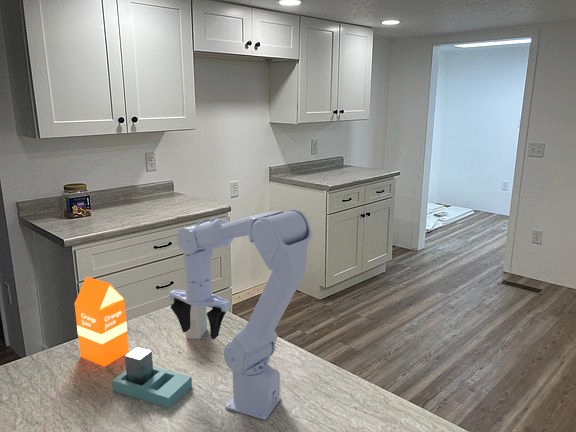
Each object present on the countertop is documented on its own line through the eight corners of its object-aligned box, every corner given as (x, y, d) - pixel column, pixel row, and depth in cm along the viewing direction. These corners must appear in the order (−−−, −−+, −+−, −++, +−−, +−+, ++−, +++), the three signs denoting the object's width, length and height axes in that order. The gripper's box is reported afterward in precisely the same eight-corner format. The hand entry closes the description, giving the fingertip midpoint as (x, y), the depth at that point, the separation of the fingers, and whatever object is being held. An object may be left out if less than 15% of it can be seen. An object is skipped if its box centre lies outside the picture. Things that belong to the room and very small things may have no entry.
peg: (153, 382, 106) (151, 350, 104) (142, 392, 103) (139, 359, 101) (139, 378, 108) (137, 346, 106) (127, 387, 104) (124, 355, 102)
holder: (191, 386, 105) (191, 376, 104) (169, 408, 98) (168, 398, 97) (138, 370, 111) (137, 361, 110) (113, 390, 103) (112, 380, 103)
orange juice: (104, 367, 112) (96, 289, 107) (79, 356, 116) (71, 281, 111) (129, 351, 119) (123, 278, 114) (105, 342, 123) (98, 271, 118)
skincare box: (192, 327, 131) (190, 288, 128) (207, 329, 130) (206, 289, 127) (185, 338, 125) (182, 297, 122) (200, 340, 125) (198, 298, 122)
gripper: (235, 276, 105) (237, 332, 108) (181, 267, 110) (184, 320, 113) (219, 288, 98) (221, 346, 102) (162, 277, 104) (166, 333, 107)
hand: (200, 333), depth 107 cm, fingers open, 7 cm apart
